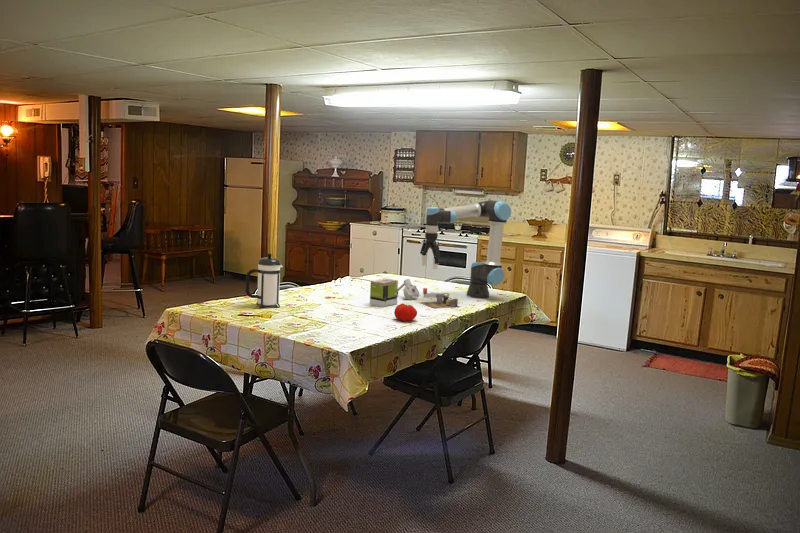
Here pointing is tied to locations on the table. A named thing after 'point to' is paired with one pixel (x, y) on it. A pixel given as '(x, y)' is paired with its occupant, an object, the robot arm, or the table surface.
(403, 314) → the tomato
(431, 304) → the board
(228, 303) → the table surface
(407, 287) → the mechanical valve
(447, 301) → the walnut
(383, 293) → the tea box
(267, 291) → the coffee press
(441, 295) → the lever
